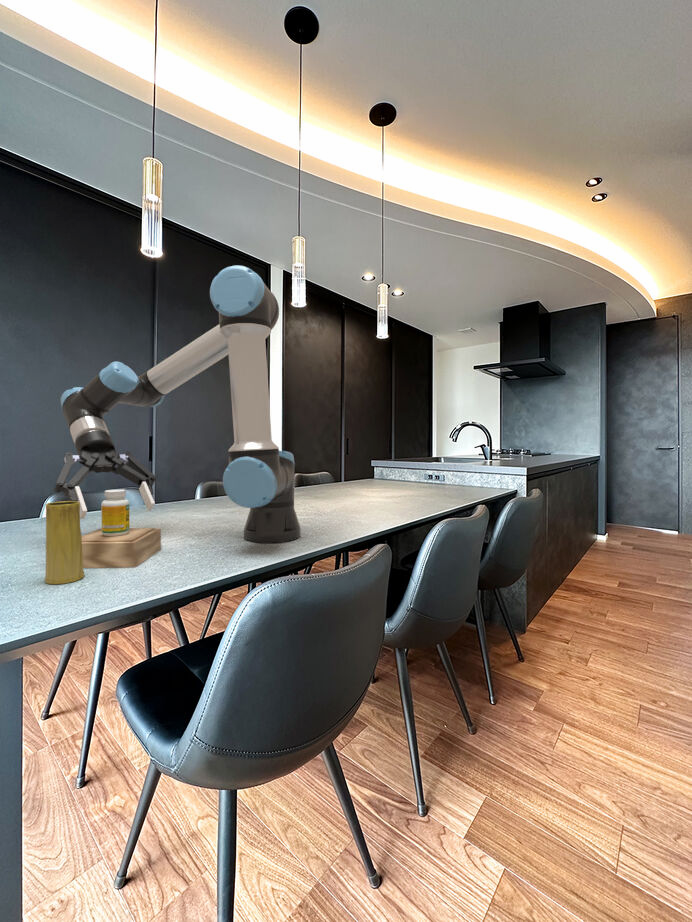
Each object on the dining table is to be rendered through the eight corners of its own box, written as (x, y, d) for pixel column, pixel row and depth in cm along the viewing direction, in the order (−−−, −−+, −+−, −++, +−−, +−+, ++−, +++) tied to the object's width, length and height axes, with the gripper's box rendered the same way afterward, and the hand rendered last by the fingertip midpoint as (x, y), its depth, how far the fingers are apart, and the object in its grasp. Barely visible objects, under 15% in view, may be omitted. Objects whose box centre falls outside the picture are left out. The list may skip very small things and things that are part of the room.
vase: (55, 587, 73) (53, 506, 72) (38, 581, 76) (35, 503, 75) (91, 577, 78) (89, 502, 78) (73, 572, 81) (71, 499, 81)
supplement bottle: (101, 532, 92) (100, 489, 91) (128, 530, 95) (128, 488, 94) (102, 537, 87) (101, 492, 87) (130, 535, 90) (130, 491, 90)
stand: (160, 549, 99) (160, 527, 98) (135, 567, 85) (135, 541, 84) (99, 550, 98) (99, 527, 97) (63, 568, 84) (62, 542, 83)
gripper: (142, 450, 110) (170, 514, 100) (25, 452, 91) (46, 530, 82) (150, 430, 106) (180, 494, 97) (30, 427, 87) (54, 506, 78)
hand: (119, 511), depth 89 cm, fingers open, 13 cm apart
